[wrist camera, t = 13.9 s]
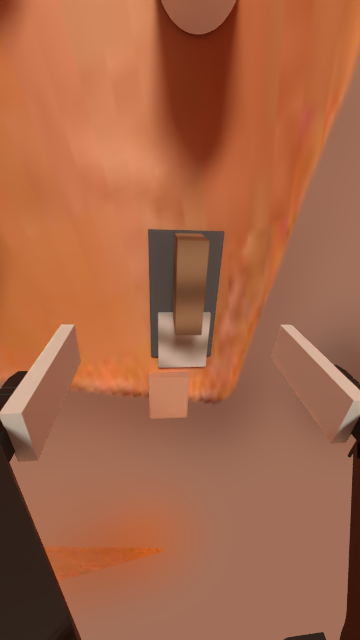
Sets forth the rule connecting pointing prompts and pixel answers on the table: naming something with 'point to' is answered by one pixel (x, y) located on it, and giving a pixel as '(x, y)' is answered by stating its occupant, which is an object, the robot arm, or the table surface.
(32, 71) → the table surface
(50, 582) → the robot arm
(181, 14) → the pill bottle
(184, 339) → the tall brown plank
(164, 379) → the tile
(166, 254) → the mat
